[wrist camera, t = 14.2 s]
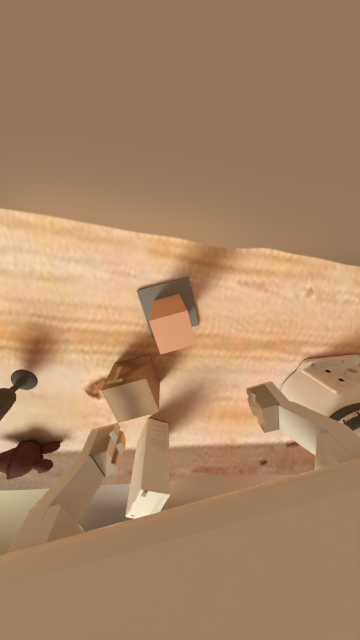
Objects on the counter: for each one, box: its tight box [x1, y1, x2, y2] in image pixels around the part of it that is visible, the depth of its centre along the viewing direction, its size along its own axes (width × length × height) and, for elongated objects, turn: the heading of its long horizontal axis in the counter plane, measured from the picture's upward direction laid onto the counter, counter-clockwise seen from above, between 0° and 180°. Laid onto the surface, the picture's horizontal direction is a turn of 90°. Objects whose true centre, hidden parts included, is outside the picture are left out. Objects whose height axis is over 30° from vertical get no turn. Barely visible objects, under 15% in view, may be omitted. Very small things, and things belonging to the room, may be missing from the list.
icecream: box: [0, 441, 60, 480], centre depth 38 cm, size 7×7×15 cm
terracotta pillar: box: [149, 294, 196, 355], centre depth 27 cm, size 5×5×12 cm
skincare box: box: [126, 418, 170, 518], centre depth 37 cm, size 8×6×15 cm
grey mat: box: [137, 277, 199, 337], centre depth 33 cm, size 10×10×1 cm
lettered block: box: [101, 355, 160, 423], centre depth 34 cm, size 8×8×8 cm
